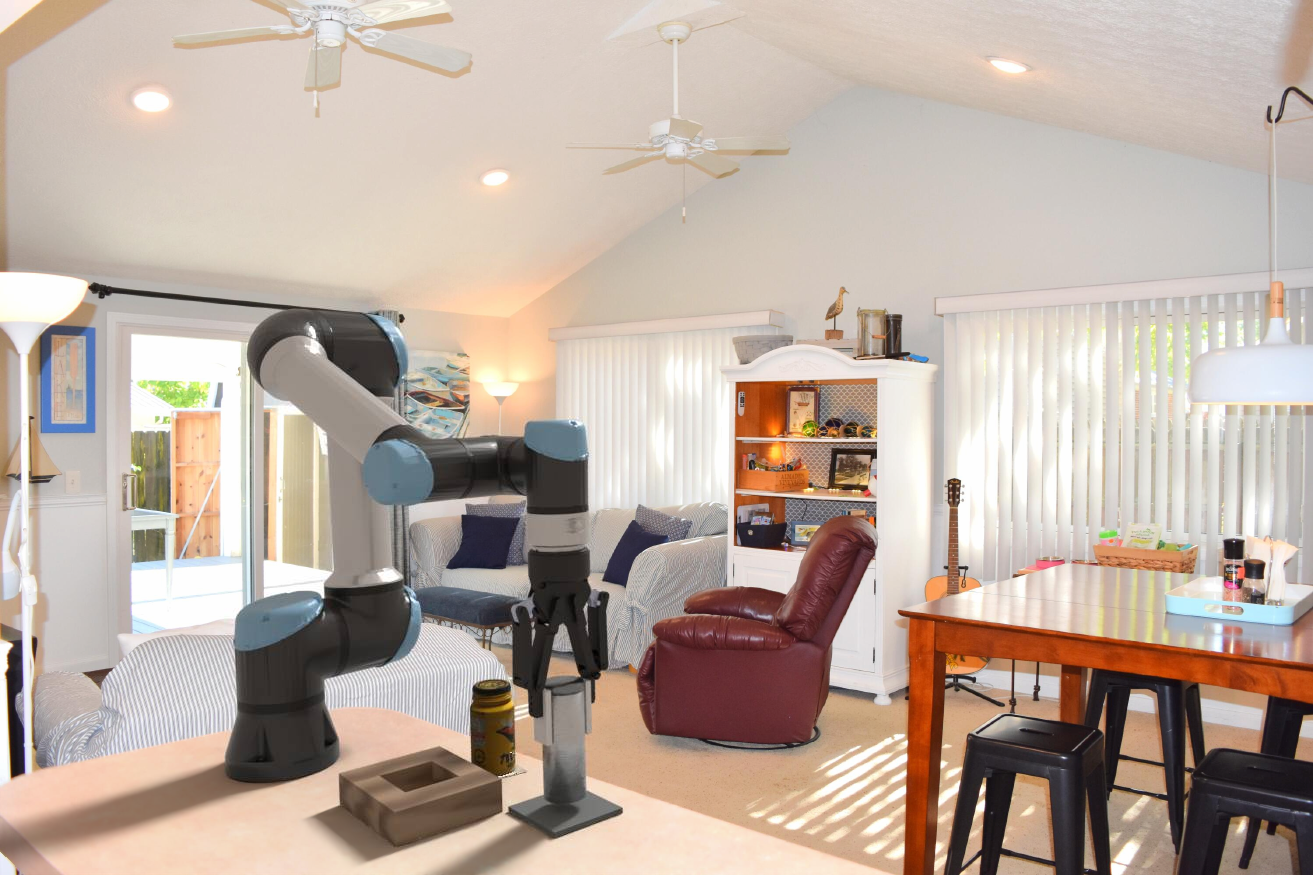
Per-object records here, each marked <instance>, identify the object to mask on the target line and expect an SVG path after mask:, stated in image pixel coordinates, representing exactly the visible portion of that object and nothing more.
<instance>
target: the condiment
mask: <svg viewBox="0 0 1313 875" xmlns="http://www.w3.org/2000/svg"><path fill="white" fill-rule="evenodd" d="M471 690H472V697H471V699H472V702H471V704H470V707H469V722H470V724H469V726H470V727H469V730H470V762H471V763H473V764H474V765H476V766H478V767H480V768H482V769H484V770H486V771H488V772H490V773H491V774H493V775H495V776H497V777H498V776H503V775H506V774H509V773H512V772H513V773H517V774H515V775H518V774H523V773H525V772H527V770H526V769H524V768H523V767H522V766H519V765H518V764H517V763H516V756H517V754H516V749H517V747H516V726H515V719H516V718H515V717H516V716H515V702H514V701H513V700H512V697H513V696H512V685H511V683H510V682H509V680H505V679H502V678H501V679H500V678H498V679H497V678H494V679H492V678H489V679H484V680H479V681H477V682H475V683H474V685H473V686H472V688H471ZM510 752H512V753H510ZM513 753H514V754H513ZM515 775H514V774H513V775H510V776H511V777H512V776H515ZM510 776H509V777H510Z"/></svg>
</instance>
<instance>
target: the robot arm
mask: <svg viewBox="0 0 1313 875" xmlns="http://www.w3.org/2000/svg"><path fill="white" fill-rule="evenodd" d="M246 362H247V366H248V369H249V372H250V374H251V376H252V377H253V379H254V381H256V383H257V384H258V385H259V386H260V387H261V388H262V389H263V390H264V391H265V392H266V393H267V394H269V395H270V396H271V397H273V398H274V399H276V400H279V401H283V402H290V403H291V404H292V405H293V406H294V407H296V408H297V409H298V410H299V411H300V412H301V413H303V414H304V415H305V416H306V417H307V418H308V419H309V420H311V421H312V422H313V423H314V424H315V425H316V426H317V427H319V428H320V429H321V430H322V431H323V432H325V434H326V446H327V447H326V448H327V466H328V469H327V470H328V485H329V486H328V488H329V503H330V507H329V508H330V525H331V545H332V546H331V548H332V565H333V571H332V573H331V574H330V575H329V576H328V577H327V579H326V580H325V581H324V582H323V597H322V595H321V594H320V593H319V592H317V591H314V590H313V591H312V590H295V591H292V592H283V593H277V594H272V595H270V596H266V597H263V598H260V599H259V598H258V599H257V600H255V601H253V602H250V603H248V604H246V605H245V606H244V607H242V609H241V610H239V612H238V613H237V615H236V617H235V619H234V633H233V634H234V636H233V641H232V645H233V647H234V664H235V665H234V667H235V688H236V690H235V691H236V717H235V719H234V720H235V721H234V724H233V727H232V731H231V733H230V737H229V741H228V744H227V747H226V751H225V755H224V768H225V770H224V771H225V774H226V775H227V776H229V777H230V778H231V779H234V780H238V781H241V782H251V783H253V782H254V783H257V782H258V783H259V782H260V783H262V782H263V783H264V782H265V783H266V782H277V781H278V782H279V781H285V780H290V779H296V778H300V777H303V776H308V775H310V774H314V773H316V772H319V771H321V770H323V769H324V770H325V768H328V767H330V766H331V765H333V764H334V763H335V762H336V761H337V760H339V757H340V754H341V753H340V752H341V751H340V750H341V749H340V738H339V735H338V732H337V730H336V727H335V725H334V722H333V720H332V717H331V714H330V711H329V710H328V706H327V704H326V693H325V692H326V691H325V690H326V688H325V686H326V684H325V682H326V681H325V680H327V679H331V678H337V677H340V676H343V675H348V674H353V673H356V672H361V671H366V670H369V669H374V668H377V669H378V668H382V667H385V666H386V665H389V664H392V663H396V662H399V661H401V660H403V659H405V658H406V657H407V656H408V655H409V654H410V653H411V652H412V650H413V649H414V648H415V646H416V645H417V643H418V639H419V637H420V633H421V629H422V609H421V605H420V601H418V600H417V594H416V593H415V592H414V590H413V589H412V588H410V587H409V586H407V585H405V583H404V575H403V574H401V573H400V572H399V571H398V570H397V569H396V568H395V567H394V566H393V553H392V530H391V514H390V506H403V507H409V506H410V507H412V506H416V505H419V504H426V503H427V504H428V503H434V502H435V503H436V502H445V501H453V500H463V499H475V498H485V497H487V498H488V497H494V496H523V497H525V498H526V505H525V506H526V509H525V510H526V543H527V545H529V546H530V547H532V548H530V549H529V550H528V552H527V574H528V580H529V583H530V588H529V591H528V594H527V598H526V599H524V600H523V601H520V602H519V603H510V604H509V605H508V607H507V611H508V612H507V613H508V616H509V617H510V621H511V631H512V632H511V633H512V634H511V636H512V637H511V638H512V639H511V644H512V648H511V649H512V652H511V653H512V654H511V655H512V661H511V662H512V669H511V670H512V671H511V672H512V677H511V678H512V684H513V685H514V686H516V687H519V688H521V689H524V690H526V691H527V703H528V707H527V709H528V712H527V713H528V715H529V716H530V717H532V718H533V735H534V736H533V737H534V738H533V740H534V741H535V742H536V743H538V744H539V743H540V744H541V745H542V744H543V745H546V746H549V745H552V716H551V690H548V689H545V684H546V679H547V678H548V673H549V667H550V662H551V657H552V652H553V646H554V641H555V636H556V635H557V634H558V632H559V629H560V626H561V625H564V626H565V628H566V631H567V635H568V638H569V643H570V646H571V650H572V654H573V658H574V662H575V666H576V669H577V673H578V674H579V675H580V676H578V675H576V676H577V677H580V678H582V679H583V680H584V712H585V735H589V734H592V733H593V724H592V717H593V714H592V704H595V701H596V681H598V680H599V679H601V676H602V674H601V672H602V671H607V670H608V668H609V644H608V620H607V608H608V604H609V601H610V593H609V592H608V591H606V590H605V591H604V590H601V589H592V587H591V585H590V583H589V582H590V581H589V577H590V575H591V550H590V549H589V548H588V547H587V546H585V545H587V544H588V543H589V542H590V514H589V513H590V512H589V511H590V510H589V509H590V508H589V507H590V506H589V456H590V452H589V450H588V439H587V429H586V425H585V424H584V422H582V421H581V420H579V419H546V420H545V419H544V420H543V419H542V420H530V421H529V420H528V421H527V422H526V424H525V425H524V435H523V436H519V435H518V436H514V435H497V434H496V435H495V434H492V435H480V436H474V437H473V436H470V437H450V438H431V437H428V436H427V435H426V434H424V433H423V432H422V431H420V430H419V429H418V428H416V427H415V426H414V425H412V424H411V423H410V422H409V421H407V420H406V419H405V418H403V416H401V415H400V414H398V413H397V412H396V411H394V410H393V409H392V408H391V407H390V405H391V404H392V403H393V402H394V401H395V393H394V392H395V391H394V390H395V389H397V388H399V387H400V386H401V385H402V384H403V383H404V382H405V379H406V375H405V374H407V373H408V371H409V351H408V347H407V344H406V340H405V337H404V335H403V334H402V332H401V330H400V328H398V327H397V326H396V324H395V323H394V322H393V321H391V320H390V319H389V318H387V317H385V316H381V315H376V314H371V313H366V312H364V311H363V312H362V311H360V312H353V311H338V310H336V311H334V310H318V309H307V308H290V309H283V310H281V311H278V312H275V313H273V314H271V315H269V316H268V317H266V318H265V319H264V320H262V321H261V322H260V323H259V324H258V325H257V326H256V327H255V329H254V331H252V333H251V335H250V338H249V340H248V342H247V348H246ZM586 604H587V610H586V613H585V609H584V608H585V607H586ZM533 611H534V613H535V615H536V616H535V620H534V623H533V624H534V625H532V620H531V619H532V618H533V616H534V615H533V613H532V612H533ZM586 616H587V617H586ZM586 626H587V627H586ZM533 629H534V638H533Z"/></svg>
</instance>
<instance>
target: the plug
mask: <svg viewBox="0 0 1313 875" xmlns="http://www.w3.org/2000/svg"><path fill="white" fill-rule="evenodd" d="M577 676H578V675H555V676H549V677H547V679H546V684H545V689H548V690H551V716H552V745H549V746H546V745H543V744H541V745H542V771H543V772H542V779H543V780H542V781H543V783H542V784H543V786H542V787H543V788H542V789H543V795H544V799H545V800H546V801H548V802H550V803H555V804H570V803H575V802H578V801H580V800H582V799H584V798H585V797H586V790H587V760H586V757H587V756H586V734H585V712H584V680H583V679H582V678H580V676H579V677H577Z"/></svg>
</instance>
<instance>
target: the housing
mask: <svg viewBox="0 0 1313 875" xmlns="http://www.w3.org/2000/svg"><path fill="white" fill-rule="evenodd" d="M338 788H339V789H338V791H339V792H338V794H339V795H338V797H339V798H338V799H339V806H341V807H342V808H344V809H345V811H347V812H349V813H350V814H351V815H352V816H354V817H356V818H357V819H358V820H359V821H360V822H362V823H363V824H364V825H366V826H367V827H369V829H371V830H372V831H374V832H375V833H377V834H378V835H379V836H380V837H382V838H383V839H385V841H387V842H389V843H390V844H391V845H393V847H394V848H397V847H400V846H403V845H406V844H409V843H412V842H416V841H418V840H421V839H424V838H428V837H430V836H433V835H436V834H439V833H442V832H445V831H448V830H451V829H454V828H457V827H460V826H463V825H466V824H469V823H471V822H474V821H478V820H481V819H483V818H487V817H489V816H492V815H496V814H499V813H502V812H503V811H504V810H503V809H504V808H503V778H499V777H497V776H495V775H493V774H491V773H490V772H488V771H486V770H484V769H482V768H480V767H478V766H476V765H474V764H473V763H471V761H469V760H467V759H465V758H463V757H462V756H459V755H458V754H455V753H453V752H451V751H450V750H448V749H446V748H444V747H442V746H440V745H438V746H434V747H431V748H427V749H424V750H420V751H417V752H413V753H409V754H405V755H401V756H398V757H393V758H390V759H387V760H383V761H382V760H381V761H380V762H376V763H372V764H368V765H365V766H360V767H358V768H357V767H356V768H353V769H350V770H349V769H348V770H346V771H343V772H339V773H338Z"/></svg>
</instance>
